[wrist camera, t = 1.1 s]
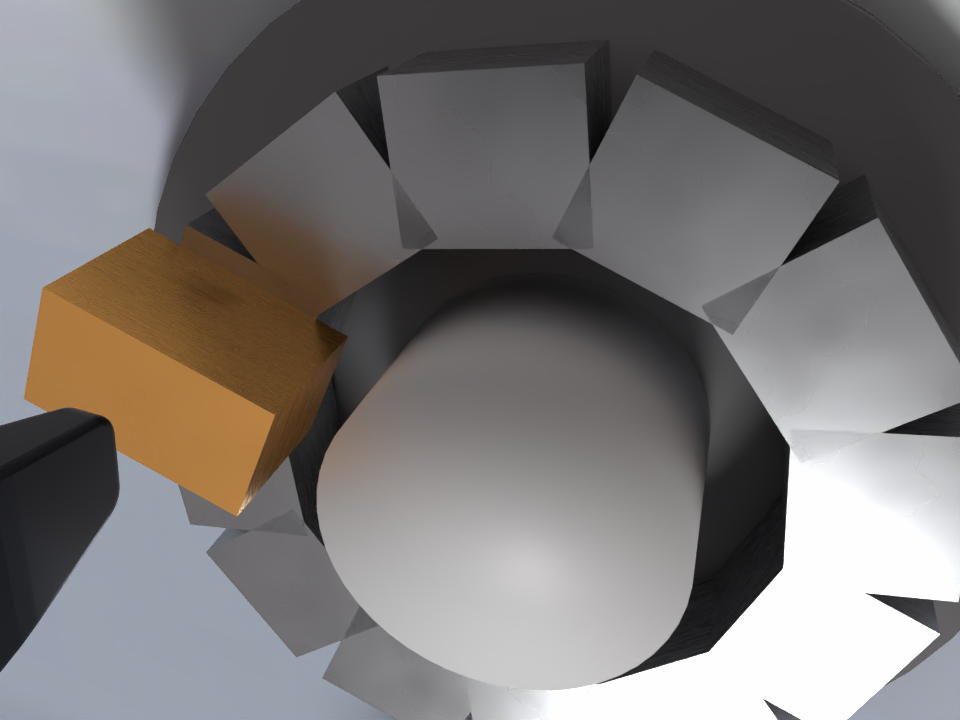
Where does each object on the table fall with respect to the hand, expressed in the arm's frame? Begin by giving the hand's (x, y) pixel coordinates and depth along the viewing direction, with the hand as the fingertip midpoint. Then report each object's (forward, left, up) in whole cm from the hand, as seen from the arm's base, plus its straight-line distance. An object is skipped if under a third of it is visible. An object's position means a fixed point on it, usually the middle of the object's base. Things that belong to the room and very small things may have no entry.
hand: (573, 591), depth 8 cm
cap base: (+6, 0, -12) cm, 13 cm away
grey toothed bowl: (+6, 0, -11) cm, 12 cm away
